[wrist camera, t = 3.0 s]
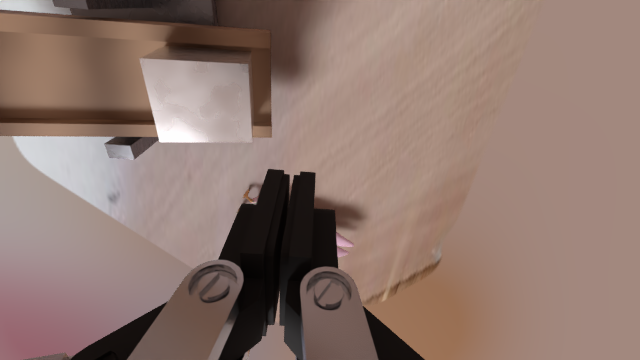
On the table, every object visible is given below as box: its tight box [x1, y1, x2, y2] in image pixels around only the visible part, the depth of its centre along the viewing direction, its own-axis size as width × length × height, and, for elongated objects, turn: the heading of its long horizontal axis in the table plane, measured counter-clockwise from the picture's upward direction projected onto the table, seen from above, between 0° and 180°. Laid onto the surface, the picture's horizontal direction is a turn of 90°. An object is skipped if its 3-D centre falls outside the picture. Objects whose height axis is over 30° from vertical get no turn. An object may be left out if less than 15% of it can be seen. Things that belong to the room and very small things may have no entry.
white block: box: [139, 46, 254, 142], centre depth 20 cm, size 6×5×5 cm
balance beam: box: [0, 10, 272, 137], centre depth 21 cm, size 23×8×2 cm, turn 85°
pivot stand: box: [53, 0, 218, 159], centre depth 23 cm, size 12×14×8 cm
